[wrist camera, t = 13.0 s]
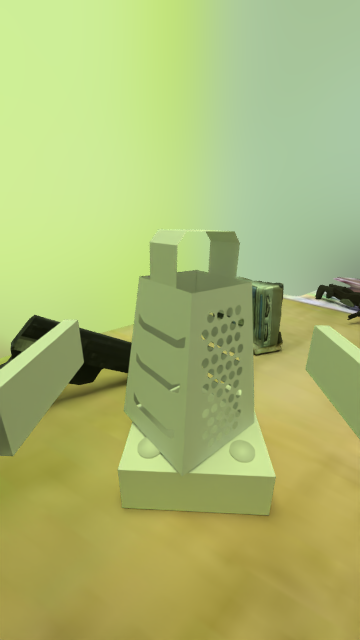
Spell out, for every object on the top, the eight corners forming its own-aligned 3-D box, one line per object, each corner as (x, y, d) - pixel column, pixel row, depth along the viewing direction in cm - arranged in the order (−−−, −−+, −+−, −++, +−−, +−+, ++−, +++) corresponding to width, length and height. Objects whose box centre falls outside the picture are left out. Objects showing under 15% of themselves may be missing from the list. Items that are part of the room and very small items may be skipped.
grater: (254, 422, 29) (285, 233, 22) (182, 476, 22) (193, 233, 15) (191, 380, 36) (199, 229, 29) (123, 411, 30) (113, 227, 23)
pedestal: (122, 507, 25) (117, 467, 23) (146, 410, 38) (145, 379, 36) (269, 515, 24) (276, 474, 23) (242, 413, 37) (245, 382, 36)
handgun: (131, 428, 47) (165, 355, 46) (-32, 418, 33) (10, 311, 32) (127, 420, 49) (160, 349, 48) (-29, 407, 35) (11, 306, 34)
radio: (206, 320, 74) (208, 267, 69) (234, 317, 76) (238, 266, 71) (246, 358, 53) (253, 287, 48) (283, 353, 55) (294, 284, 50)
